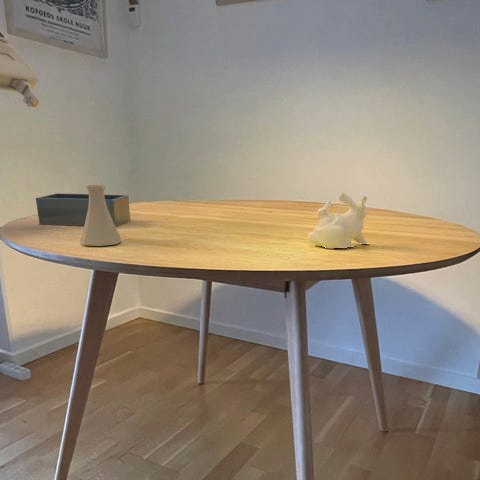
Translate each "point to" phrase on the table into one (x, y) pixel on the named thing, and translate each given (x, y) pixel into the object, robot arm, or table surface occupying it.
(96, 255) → the table surface
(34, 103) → the robot arm
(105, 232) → the flask
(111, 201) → the open box
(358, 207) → the rabbit figurine
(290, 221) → the table surface
